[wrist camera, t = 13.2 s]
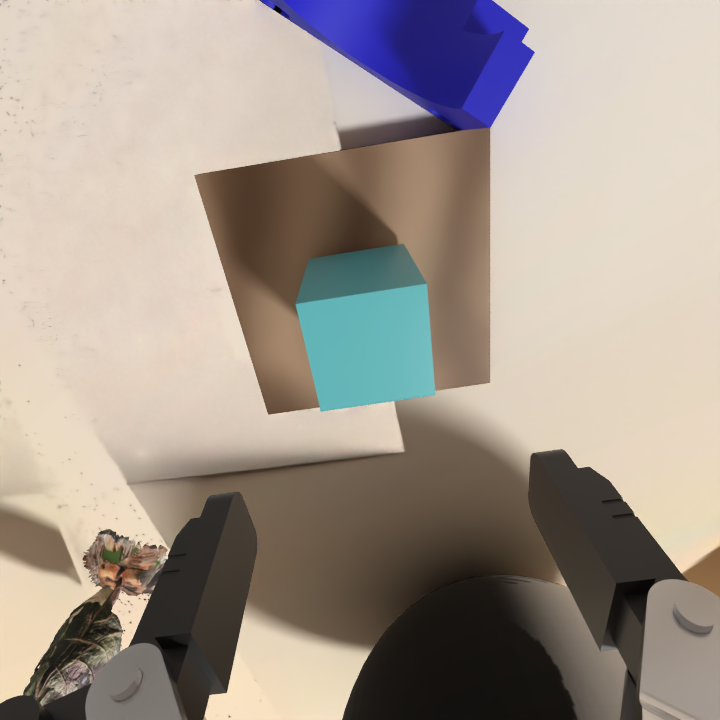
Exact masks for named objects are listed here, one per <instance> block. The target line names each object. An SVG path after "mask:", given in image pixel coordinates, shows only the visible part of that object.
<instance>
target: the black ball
mask: <svg viewBox="0 0 720 720" xmlns="http://www.w3.org/2000/svg"><path fill="white" fill-rule="evenodd" d="M626 667H627V666H626V664H625V662H624V660H623V658H622V657H621V655H620V653H619V651H618V650H612V651H603V652H600V650H599V648H598V646H597V644H596V642H595V640H594V638H593V636H592V634H591V632H590V630H589V628H588V626H587V624H586V622H585V620H584V618H583V616H582V614H581V612H580V610H579V608H578V606H577V604H576V602H575V600H574V598H573V596H572V594H571V592H570V590H569V588H568V587H565V586H563V585H560V584H557V583H553V582H549V581H545V580H542V579H536V578H531V577H525V576H514V575H492V576H480V577H475V578H470V579H465V580H462V581H459V582H456V583H452V584H450V585H447V586H444V587H442V588H440V589H438V590H436V591H434V592H432V593H430V594H428V595H427V596H425V597H424V598H422V599H420V600H419V601H418V602H416V603H415V604H414V605H412V606H411V607H410V608H408V609H407V610H406V611H405V612H404V613H403V614H402V615H401V616H399V617H398V618H397V619H396V620H395V621H394V623H393V624H392V625H391V626H390V627H389V628H388V629H387V630H386V632H385V633H384V634H383V635H382V637H381V638H380V639H379V641H378V642H377V644H376V645H375V647H374V648H373V650H372V651H371V653H370V654H369V656H368V658H367V660H366V661H365V663H364V665H363V667H362V669H361V671H360V673H359V676H358V678H357V680H356V682H355V684H354V687H353V689H352V691H351V694H350V697H349V700H348V703H347V705H346V708H345V711H344V715H343V719H342V720H620V715H621V706H622V697H623V688H624V678H625V671H626Z"/></svg>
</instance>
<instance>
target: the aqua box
mask: <svg viewBox="0 0 720 720" xmlns="http://www.w3.org/2000/svg"><path fill="white" fill-rule="evenodd" d="M296 308H297V313H298V317H299V321H300V325H301V329H302V334H303V338H304V342H305V346H306V351H307V355H308V359H309V363H310V368H311V372H312V376H313V380H314V384H315V389H316V393H317V397H318V401H319V406H320V410H321V411H328V410H335V409H342V408H349V407H356V406H363V405H369V404H376V403H383V402H390V401H397V400H404V399H411V398H418V397H425V396H432V395H435V383H434V370H433V357H432V344H431V330H430V317H429V304H428V290H427V283H426V281H425V279H424V278H423V276H422V274H421V272H420V271H419V269H418V267H417V266H416V264H415V262H414V260H413V259H412V257H411V255H410V253H409V252H408V250H407V248H406V247H405V245H404V244H399V245H392V246H386V247H380V248H373V249H367V250H361V251H354V252H348V253H342V254H336V255H329V256H323V257H317V258H310V259H309V260H308V263H307V267H306V270H305V274H304V277H303V280H302V284H301V287H300V290H299V294H298V297H297V301H296Z"/></svg>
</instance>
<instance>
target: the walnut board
mask: <svg viewBox="0 0 720 720" xmlns="http://www.w3.org/2000/svg"><path fill="white" fill-rule="evenodd" d="M194 176H195V179H196V182H197V185H198V189H199V192H200V195H201V198H202V202H203V205H204V208H205V211H206V214H207V218H208V221H209V224H210V227H211V231H212V234H213V237H214V240H215V244H216V247H217V250H218V253H219V257H220V260H221V263H222V266H223V269H224V273H225V276H226V279H227V282H228V286H229V289H230V292H231V295H232V299H233V302H234V305H235V308H236V312H237V315H238V318H239V321H240V324H241V328H242V331H243V334H244V337H245V341H246V344H247V347H248V350H249V354H250V357H251V360H252V363H253V366H254V370H255V373H256V376H257V379H258V383H259V386H260V389H261V392H262V396H263V399H264V402H265V405H266V409H267V412H268V415H269V414H276V413H283V412H289V411H296V410H303V409H310V408H317V407H320V406H319V401H318V397H317V393H316V389H315V384H314V380H313V376H312V372H311V368H310V363H309V359H308V355H307V351H306V346H305V342H304V338H303V334H302V329H301V325H300V321H299V317H298V313H297V308H296V301H297V297H298V294H299V290H300V287H301V284H302V280H303V277H304V274H305V270H306V267H307V263H308V260H309V259H310V258H317V257H323V256H329V255H336V254H342V253H348V252H354V251H361V250H367V249H373V248H380V247H386V246H392V245H399V244H404V245H405V247H406V248H407V250H408V252H409V253H410V255H411V257H412V259H413V260H414V262H415V264H416V266H417V267H418V269H419V271H420V272H421V274H422V276H423V278H424V279H425V281H426V283H427V290H428V304H429V317H430V330H431V344H432V357H433V370H434V383H435V391H436V390H443V389H450V388H457V387H464V386H471V385H478V384H485V383H490V128H482V129H471V130H460V131H454V132H448V133H442V134H436V135H430V136H424V137H418V138H412V139H406V140H400V141H394V142H388V143H382V144H376V145H370V146H364V147H358V148H352V149H346V150H340V151H334V152H328V153H322V154H316V155H310V156H304V157H298V158H292V159H286V160H280V161H274V162H268V163H263V164H257V165H251V166H245V167H239V168H233V169H227V170H221V171H215V172H209V173H203V174H198V175H194Z"/></svg>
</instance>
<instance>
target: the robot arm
mask: <svg viewBox="0 0 720 720" xmlns="http://www.w3.org/2000/svg"><path fill="white" fill-rule="evenodd" d="M528 497H529V504H530V509H531V512H532V515H533V518H534V520H535V522H536V524H537V526H538V528H539V530H540V532H541V534H542V536H543V538H544V540H545V542H546V544H547V546H548V548H549V550H550V552H551V554H552V556H553V558H554V560H555V562H556V564H557V566H558V568H559V570H560V572H561V574H562V576H563V578H564V580H565V582H566V584H567V586H568V588H569V590H570V592H571V594H572V596H573V598H574V600H575V602H576V604H577V606H578V608H579V610H580V612H581V614H582V616H583V618H584V620H585V622H586V624H587V626H588V628H589V630H590V632H591V634H592V636H593V638H594V640H595V642H596V644H597V646H598V648H599V650H600V652H603V651H612V650H618V651H619V653H620V655H621V657H622V658H623V660H624V662H625V664H626V666H627V667H626V671H625V678H624V688H623V697H622V706H621V715H620V720H720V598H719V597H718V596H716V595H715V594H713V593H711V592H710V591H708V590H707V589H705V588H703V587H701V586H699V585H696V584H694V583H691V582H689V581H687V579H686V578H685V577H684V576H683V575H682V574H681V573H680V571H679V570H678V569H677V567H676V566H675V565H674V564H673V562H672V561H671V560H670V558H669V557H668V556H667V555H666V553H665V552H664V551H663V549H662V548H661V547H660V546H659V544H658V543H657V542H656V540H655V539H654V538H653V537H652V535H651V534H650V533H649V531H648V530H647V529H646V528H645V526H644V525H643V524H642V522H641V521H640V520H639V519H638V517H635V515H634V512H633V511H632V509H631V508H630V507H629V506H628V504H627V503H626V502H624V501H623V498H622V497H621V495H620V494H619V493H618V491H617V490H616V489H615V488H614V486H613V485H612V484H611V482H610V481H609V480H607V479H606V478H605V477H603V476H602V475H600V474H599V473H597V472H596V471H594V470H593V469H592V468H590V467H584V468H577V466H576V465H575V464H574V462H573V461H572V459H571V458H570V457H569V455H568V454H567V453H566V452H565V451H564V450H562V449H560V450H552V451H545V452H538V453H533V454H532V455H531V459H530V475H529V492H528ZM256 553H257V536H256V531H255V528H254V525H253V523H252V520H251V518H250V515H249V512H248V510H247V507H246V505H245V502H244V500H243V497H242V495H241V494H240V493H239V492H234V493H227V494H220V495H212V496H210V497H209V498H208V499H207V501H206V504H205V507H204V509H203V512H202V514H201V517H200V518H193V519H190V521H189V522H188V523H187V524H186V525H185V527H184V528H183V529H182V530H181V531H180V533H179V534H178V535H177V536H176V538H175V540H174V543H173V545H172V548H171V550H170V552H169V555H168V560H166V562H165V564H164V566H163V569H162V571H161V576H159V578H158V580H157V583H156V585H155V587H154V590H153V592H152V595H151V597H150V599H149V602H148V604H147V606H146V609H145V611H144V613H143V616H142V618H141V620H140V623H139V625H138V627H137V630H136V632H135V634H134V637H133V639H132V641H131V643H130V645H129V647H128V648H125V649H124V650H122V651H121V652H119V653H118V654H116V655H115V656H114V657H113V658H111V659H110V660H109V661H108V662H107V663H106V664H105V665H104V667H103V668H102V669H101V670H100V672H99V673H98V674H97V676H96V677H95V679H94V681H93V682H92V683H90V684H88V685H86V686H84V687H82V688H80V689H78V690H76V691H74V692H71V693H69V694H67V695H65V696H63V697H61V698H58V699H56V700H54V701H52V702H50V703H48V704H45V705H43V706H42V705H41V704H40V703H39V702H38V701H37V700H36V699H35V698H33V697H31V696H27V695H22V696H17V697H13V698H11V699H8V700H6V701H4V702H2V703H0V720H206V717H205V711H206V707H207V703H208V699H209V695H212V694H221V693H227V689H228V684H229V680H230V675H231V670H232V666H233V661H234V656H235V652H236V647H237V642H238V638H239V633H240V628H241V623H242V619H243V614H244V609H245V605H246V600H247V595H248V591H249V586H250V581H251V577H252V572H253V567H254V563H255V558H256Z"/></svg>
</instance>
